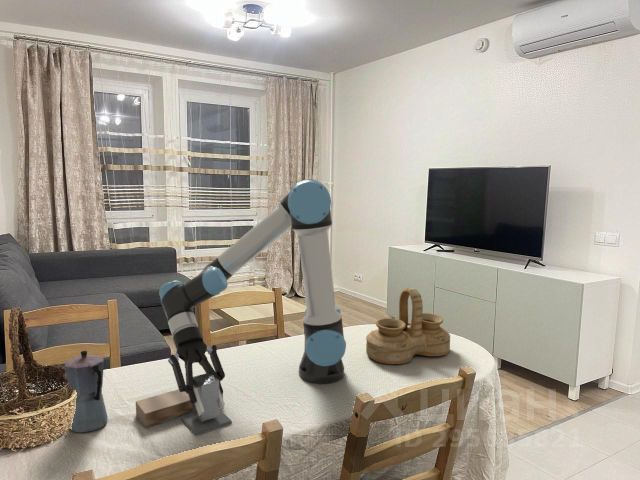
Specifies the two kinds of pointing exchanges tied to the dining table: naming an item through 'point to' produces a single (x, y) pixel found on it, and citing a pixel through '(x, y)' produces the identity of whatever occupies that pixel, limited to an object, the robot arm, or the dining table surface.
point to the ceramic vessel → (408, 334)
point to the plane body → (163, 407)
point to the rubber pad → (205, 423)
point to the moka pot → (87, 391)
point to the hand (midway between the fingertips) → (211, 410)
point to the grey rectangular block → (207, 396)
